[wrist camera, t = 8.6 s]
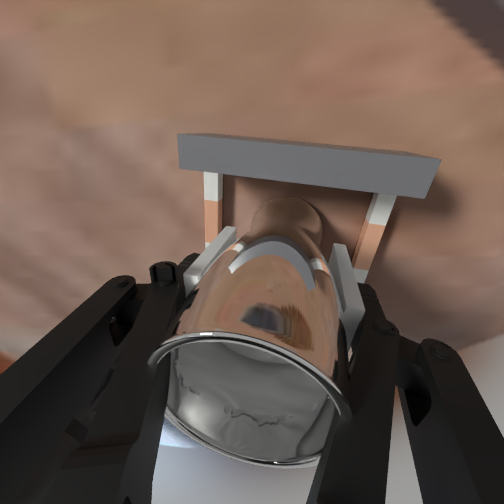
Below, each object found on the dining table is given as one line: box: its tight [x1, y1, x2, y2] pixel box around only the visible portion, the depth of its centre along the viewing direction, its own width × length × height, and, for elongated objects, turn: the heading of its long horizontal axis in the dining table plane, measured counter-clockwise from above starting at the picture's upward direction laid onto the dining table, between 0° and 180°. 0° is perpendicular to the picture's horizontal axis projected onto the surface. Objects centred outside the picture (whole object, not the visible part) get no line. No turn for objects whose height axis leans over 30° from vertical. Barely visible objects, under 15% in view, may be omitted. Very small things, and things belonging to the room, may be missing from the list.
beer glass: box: [147, 197, 353, 469], centre depth 14 cm, size 7×7×15 cm
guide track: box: [177, 133, 442, 284], centre depth 21 cm, size 25×14×5 cm, turn 175°
